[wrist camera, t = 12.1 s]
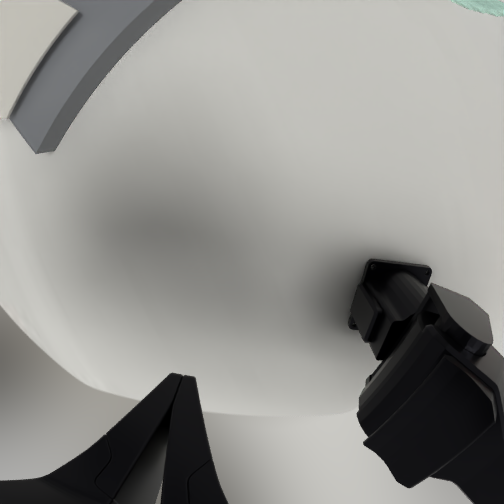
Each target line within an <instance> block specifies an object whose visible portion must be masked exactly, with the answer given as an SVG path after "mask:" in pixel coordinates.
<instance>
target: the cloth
mask: <svg viewBox="0 0 504 504" xmlns="http://www.w3.org/2000/svg"><path fill="white" fill-rule="evenodd" d="M451 1H452V2H454V3H456V4H458V5H461V6H463V7H464V8H467V9H469V10H474V11H478V12H482V13H488V14H491V15H495V16H504V3H503V2H501V1H498V0H451Z"/></svg>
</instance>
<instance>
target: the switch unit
mask: <svg viewBox="0 0 504 504" xmlns="http://www.w3.org/2000/svg"><path fill="white" fill-rule="evenodd" d="M61 1H63V2H65V3H66V4H68V5H70V6H72V7H73V8H75V9H77V10H78V11H79V13H78V14H77V15H76V16H75V17H74V18H73V19H72V21H71V22H70V23H69V24H68V25H67V27H66V28H65V29H64V30H63V32H62V33H61V34H60V36H59V37H58V38H57V39H56V41H55V42H54V43H53V45H52V46H51V48H50V49H49V50H48V52H47V53H46V55H45V56H44V58H43V59H42V61H41V62H40V64H39V65H38V67H37V68H36V70H35V71H34V73H33V75H32V76H31V78H30V80H29V81H28V83H27V85H26V86H25V88H24V90H23V92H22V94H21V95H20V97H19V99H18V101H17V103H16V105H15V107H14V109H13V111H12V113H11V115H10V117H9V119H10V120H11V122H12V123H13V124H14V126H15V127H16V129H17V130H18V131H19V133H20V134H21V135H22V137H23V138H24V139H25V141H26V142H27V143H28V145H29V146H30V147H31V149H32V150H33V151H34V152H35V154H39V153H44V152H50V151H55V149H56V148H57V146H58V144H59V142H60V141H61V139H62V137H63V136H64V134H65V132H66V131H67V129H68V128H69V126H70V124H71V123H72V121H73V120H74V118H75V117H76V115H77V114H78V112H79V111H80V109H81V108H82V106H83V105H84V104H85V102H86V101H87V99H88V98H89V97H90V95H91V94H92V93H93V91H94V90H95V89H96V87H97V86H98V85H99V83H100V82H101V81H102V80H103V78H104V77H105V76H106V75H107V74H108V72H109V71H110V70H111V69H112V68H113V66H114V65H115V64H116V63H117V62H118V61H119V59H120V58H121V57H122V56H123V55H124V54H125V53H126V52H127V51H128V50H129V48H130V47H131V46H132V45H133V44H134V43H135V42H136V41H137V40H138V39H139V38H140V37H141V36H142V35H143V34H144V33H145V32H146V31H147V30H148V29H149V28H150V27H151V26H152V25H154V24H155V23H156V22H157V21H158V20H159V19H160V18H161V17H162V16H163V15H165V14H166V13H167V12H168V11H169V10H170V9H172V8H173V7H174V6H175V5H176V4H178V3H179V2H180V1H181V0H61Z"/></svg>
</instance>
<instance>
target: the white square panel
mask: <svg viewBox="0 0 504 504" xmlns="http://www.w3.org/2000/svg"><path fill="white" fill-rule="evenodd" d="M78 13H79V11H78V10H77V9H75V8H73V7H72V6H70V5H68V4H66V3H65V2H63V1H61V0H0V119H4V120H6V119H8V118H9V117H10V115H11V113H12V111H13V109H14V107H15V105H16V103H17V101H18V99H19V97H20V95H21V94H22V92H23V90H24V88H25V86H26V85H27V83H28V81H29V80H30V78H31V76H32V75H33V73H34V71H35V70H36V68H37V67H38V65H39V64H40V62H41V61H42V59H43V58H44V56H45V55H46V53H47V52H48V50H49V49H50V48H51V46H52V45H53V43H54V42H55V41H56V39H57V38H58V37H59V36H60V34H61V33H62V32H63V30H64V29H65V28H66V27H67V25H68V24H69V23H70V22H71V21H72V19H73V18H74V17H75V16H76V15H77V14H78Z"/></svg>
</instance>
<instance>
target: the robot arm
mask: <svg viewBox="0 0 504 504" xmlns="http://www.w3.org/2000/svg"><path fill="white" fill-rule="evenodd" d="M373 264H375V266H374V267H373V268H371V265H373ZM426 271H427V273H426V274H425V272H426ZM431 274H432V269H431V268H430V267H429V266H425V265H417V264H409V263H401V262H393V261H385V260H377V259H371V260H369V261H368V262H367V264H366V267H365V271H364V274H363V278H362V281H361V283H360V284H359V285H358V287H357V290H356V294H355V297H354V300H353V303H352V306H351V309H350V312H351V315H350V318H349V321H348V325H349V328H350V329H352V330H359V332H360V334H361V336H362V339H363V340H364V342H365V343H369V344H370V346H371V349H372V351H373V353H374V355H375V358H376V360H383V361H382V362H381V363H380V365H379V366H378V367H377V369H376V370H375V371H374V372H373V374H372V375H369V377H368V378H367V379H366V385H365V388H364V389H363V391H362V393H361V395H360V397H359V411H358V412H357V418H358V421H359V423H360V426H361V427H362V429H363V431H364V432H365V434H366V435H367V436H368V438H367V439H366V440H365V441H364V442H363V444H364V446H366V447H368V448H369V449H371V450H372V451H374V452H375V453H376V454H377V455H378V456H379V457H380V458H381V459H382V460H383V461H384V462H385V464H386V465H387V466H388V468H389V470H390V471H391V473H392V474H393V476H394V478H395V479H396V481H397V482H398V483H400V484H402V485H404V486H405V487H407V488H412V487H414V486H415V485H417V484H419V483H420V482H422V481H423V480H425V479H426V478H428V477H432V478H437V479H442V480H447V481H451V482H453V483H454V484H455V485H457V486H458V487H459V488H460V490H461V491H462V492H463V493H464V494H465V495H466V496H467V497H468V499H469V500H470V501H471V502H472V503H473V504H504V357H503V356H502V355H501V354H500V353H499V352H498V351H497V350H496V349H495V348H494V347H493V346H492V344H493V335H492V330H491V324H490V319H489V315H488V314H487V313H486V312H485V311H484V310H483V309H482V308H480V307H479V306H478V305H477V304H476V303H475V302H473V301H472V300H471V299H470V298H468V297H465V296H463V295H461V294H458V293H456V292H453V291H451V290H448V289H446V288H443V287H441V286H438V285H436V284H434V283H431V284H430V286H429V288H428V287H427V285H428V282H429V279H430V277H431ZM353 323H355V324H354V325H352V324H353ZM162 480H163V484H162V494H161V504H228V501H227V500H226V497H225V495H224V493H223V490H222V488H221V486H220V483H219V480H218V477H217V474H216V470H215V466H214V462H213V459H212V454H211V450H210V446H209V442H208V437H207V433H206V428H205V424H204V419H203V414H202V409H201V404H200V399H199V393H198V388H197V382H196V378H195V377H194V376H188V375H184V376H183V375H181V374H176V373H170V374H169V375H168V376H167V377H166V378H165V379H164V380H163V381H162V382H161V383H160V384H159V385H158V386H157V387H155V388H154V389H153V390H152V391H151V392H150V393H149V394H148V395H147V396H146V397H145V398H144V399H143V400H142V401H141V402H140V403H138V404H137V405H136V406H135V407H134V408H133V409H132V410H131V411H130V412H129V413H128V414H127V415H126V416H124V417H123V418H122V419H121V420H120V421H119V422H118V423H117V424H116V425H115V426H114V427H112V428H111V429H110V430H109V431H108V432H107V433H106V435H103V436H102V437H101V438H100V439H99V440H98V441H97V442H96V443H94V444H93V445H92V446H91V447H90V448H88V449H87V450H86V451H84V452H83V453H81V454H80V455H79V456H77V457H76V458H74V459H72V460H71V461H69V462H68V463H66V464H65V465H63V466H62V467H60V468H58V469H57V470H55V471H53V472H52V473H50V474H48V475H46V476H43V477H40V478H34V479H24V480H7V481H0V504H155V503H156V499H157V496H158V493H159V490H160V486H161V483H162Z"/></svg>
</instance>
